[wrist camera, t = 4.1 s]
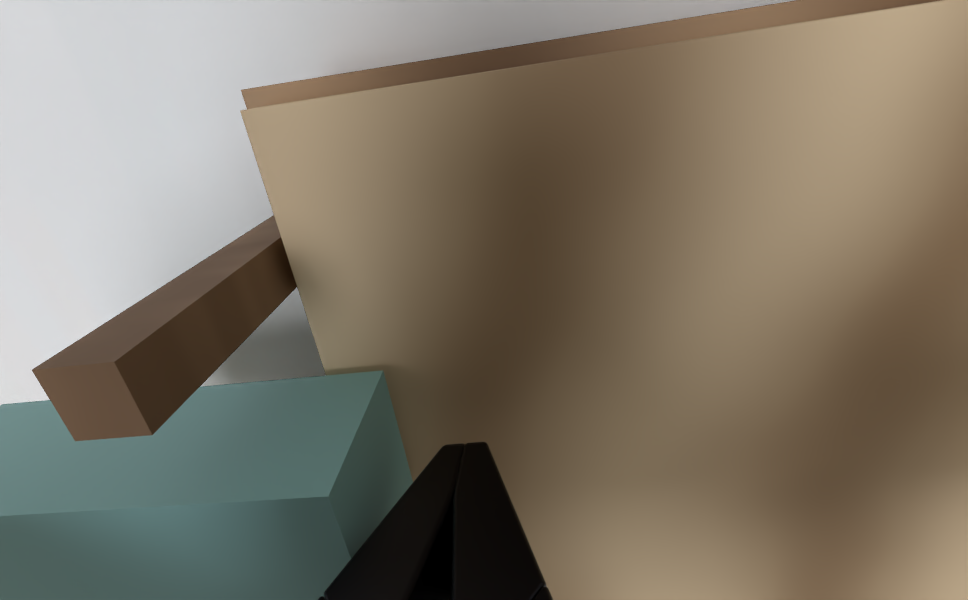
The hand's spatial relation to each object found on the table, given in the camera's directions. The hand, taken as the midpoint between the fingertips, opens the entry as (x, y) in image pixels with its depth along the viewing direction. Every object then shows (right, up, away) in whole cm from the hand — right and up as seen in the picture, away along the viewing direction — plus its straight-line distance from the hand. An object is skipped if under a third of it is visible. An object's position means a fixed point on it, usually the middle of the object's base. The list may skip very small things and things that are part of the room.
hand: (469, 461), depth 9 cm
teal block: (-5, 0, +1) cm, 5 cm away
